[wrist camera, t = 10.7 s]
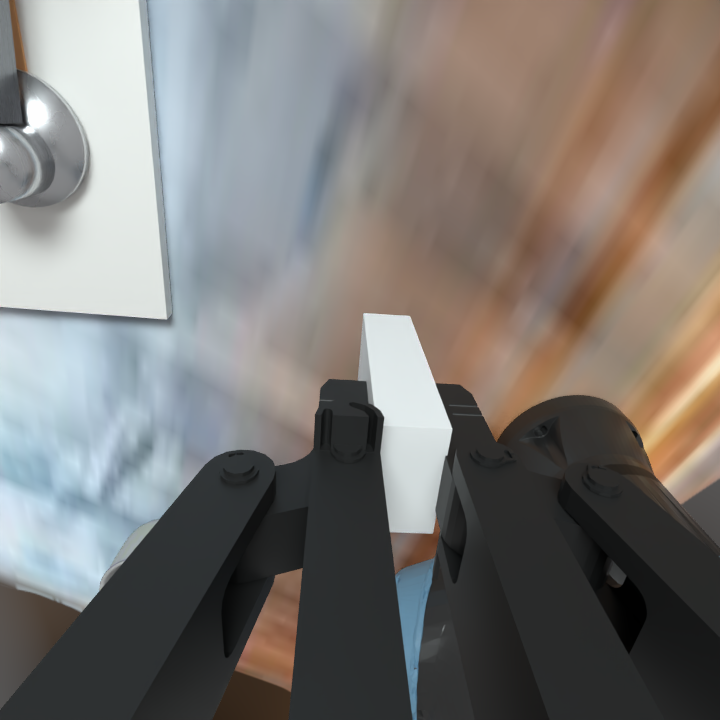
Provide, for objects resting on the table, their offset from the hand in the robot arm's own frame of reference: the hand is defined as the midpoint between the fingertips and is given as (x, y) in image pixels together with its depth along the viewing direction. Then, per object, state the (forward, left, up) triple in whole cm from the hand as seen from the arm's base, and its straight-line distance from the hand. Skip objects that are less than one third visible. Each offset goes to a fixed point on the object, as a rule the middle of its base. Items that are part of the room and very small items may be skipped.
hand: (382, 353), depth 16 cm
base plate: (+2, +24, -26) cm, 36 cm away
